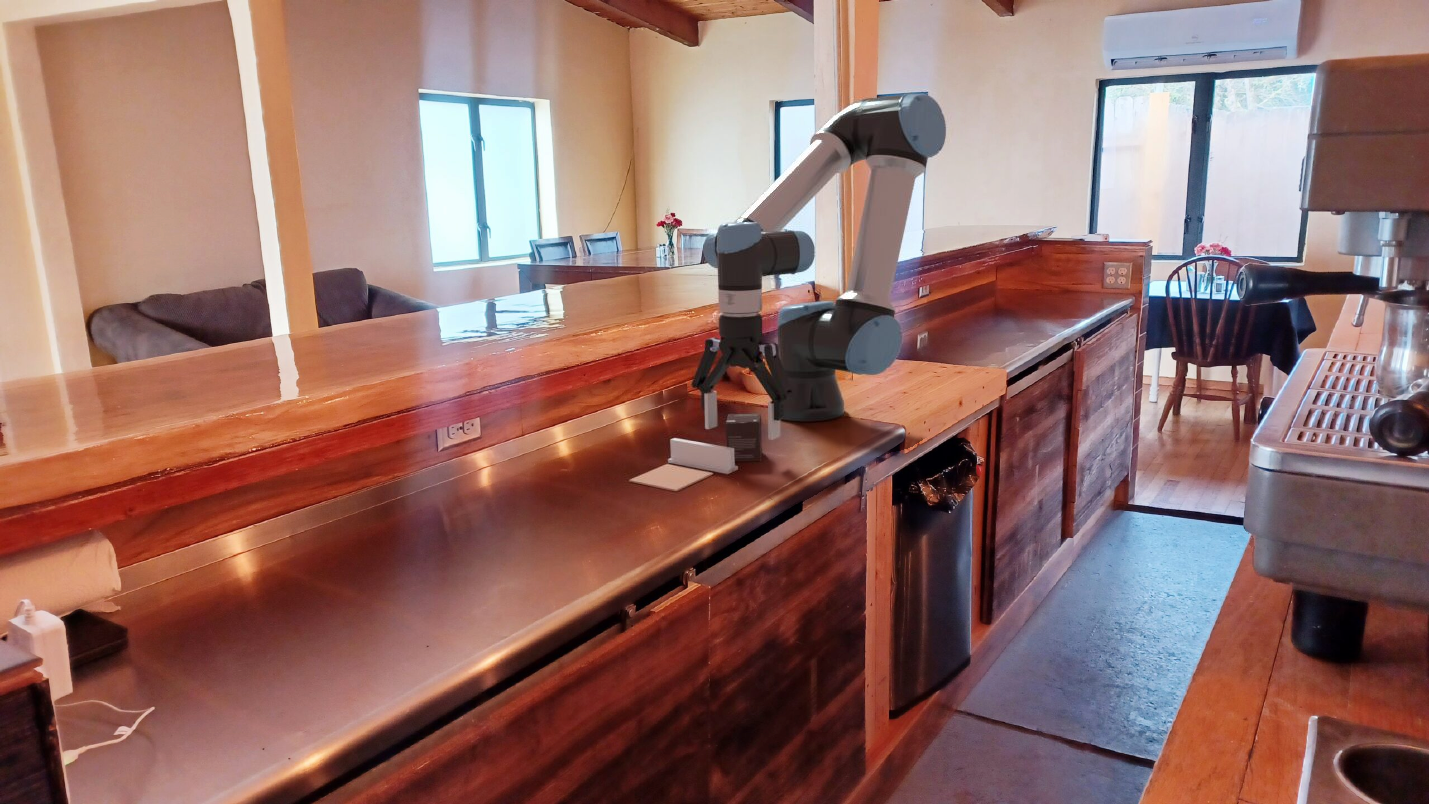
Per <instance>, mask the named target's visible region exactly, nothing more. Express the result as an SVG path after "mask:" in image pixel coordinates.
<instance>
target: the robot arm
mask: <svg viewBox="0 0 1429 804" xmlns="http://www.w3.org/2000/svg"><path fill="white" fill-rule="evenodd" d="M946 125H947V124H946V119H945V115H944V113H943V110H942V107H941V106H940V104H939V103H938V102H937V100H936V99H935V98H933V97H932V96H930V95H928V94H926V93H910V92H909V93H907V92H906V93H904V94H899V95H891V96H890V95H889V96H880V97H869V98H864V99H863V98H862V99H861V100H858V101H855V102H853V103H851V104H849V105H848V106H846V107H844V108H843V109H842V110H840V111H839V112H838V113H836V114H835V115H834V116H833V117H831V118H829V119H828V121H827V122H825V123H824V124H823V125H822V126H821V127H820V128H818V130H816V132H815V133H814V134H813V135H812V136H811V138H810V140H809V141H810V142H809V145H808V147H807V148H806V150H804V151H803V152H802V154H800V155H799V156H798V157H797V158H796V159H795V160H794V161H793V162H792V164H791V165H789V167H788V168H787V169H785V170H784V172H782V173H781V174H780V175H779V177H778V178H776V179H775V181H774V182H772V183H771V184H770V186H768V188H767V189H766V190H765V191H764V192H763V193H762V194H760V195H759V197H758V198H756V200H755V201H754V202H753V203H751V205H750V206H749V207H748V208H747V209H746V210H745V211H744V212H743V213H742V214H741V215H740V216H739V217H738V218H737V219H736V220H735V221H734V222H723V223H722V224H720V225H719V226H718V228H717V229H715V230H712V231H710V232H709V234H708V235H707V236H706V238H705V239H704V242H703V246H702V248H703V249H702V250H703V251H702V252H703V256H704V259H705V261H706V262H707V263H708V265H709V266H710V267H712V268H713V269H716V270H717V283H718V284H717V290H718V293H717V294H718V295H717V296H718V297H717V298H718V312H720V313H721V314H720V315H719V316H718V335H719V336H720V339H719V338H718V337H710V338H707V339H705V342H704V352H703V354H702V357H701V359H700V361H699V364H698V367H697V370H696V371H695V374H694V377H693V379H692V381H691V387H692V388H693V389H698V391H699V392H700V394H701V396H700V397H701V408H702V410H704V428H705V429H706V430H710V429H713V428H716V427H718V397H717V396H718V394H717V391H716V388H715V387H716V385H717V384H718V383H719V381H720V380H721V378H722V377H723V376H724V375H725V373H726V372H727V370H728V369H729V368H730V367H731V368H732V367H733V368H736V367H739V368H741V369H747V368H748V370H749V371H750V372H752V373H753V375H754V376H755V377H756V379H757V380H758V382H759V383H760V384H761V387H762V388H764V390H765V392H766V394H767V395H768V397H769V398H770V401H768V402H767V424H768V425H767V429H768V430H767V431H768V433H767V435H768V437H767V438H768V440H771V441H773V440H775V439H778V438H780V437H781V421H782V420H784V421H790V422H791V421H792V422H803V423H804V422H805V423H806V422H823V421H827V420H829V421H830V420H833V419H834V420H835V419H836V418H839V417H841V416H843V415H844V414H845V401H844V398H843V395H842V392H841V388H840V386H839V383H838V380H837V375H836V371H842V372H847V373H851V374H854V375H857V376H861V375H866V376H867V375H868V376H877V375H880V374H882V373H884V372H885V371H886V370H887V369H888V368H890V367H891V366H892V365H893V363H895V361H896V359H897V358H898V356H899V354H900V351H901V349H902V344H903V333H902V332H901V330H902V327H901V326H902V325H901V324H900V322H899V321H898V320H897V319H896V318H895V315H896V308H895V307H894V306H893V303H892V302H891V295H892V292H893V291H892V290H893V286H894V282H895V277H896V273H897V268H898V267H897V266H898V262H899V258H900V252H901V250H902V249H901V248H902V243H903V239H904V233H905V229H906V225H907V220H908V215H909V210H910V206H911V200H912V196H913V191H914V187H915V184H916V183H915V181H916V179H917V178H919V176H921V175H922V174H924V173H925V172H926V170H927V169H926V168H927V163H928V160H929V158H933V157H934V156H937V155H938V154H939V153H940V151H942V150H943V147H944V145H945V142H946V138H947V136H946V135H947V127H946ZM861 161H865V163H866V164H867V166H868V168H869V169H870V176H869V180H868V185H867V189H866V195H865V200H864V204H863V209H862V212H861V213H862V214H861V218H860V223H859V228H858V232H857V238H856V242H855V247H854V250H853V251H854V252H853V257H852V261H851V266H850V270H849V271H850V272H849V276H848V281H847V286H846V290H845V291H844V293H842V294H841V295H840V296H838V297H837V298H836V300H835V302H834V301H833V300H825V301H823V300H822V301H813V302H803V303H796V304H790V305H785V306H783V307H781V308H780V310H779V312H778V319H777V320H778V321H777V324H776V325H777V343H776V342H772V343H769V344H763V343H762V335H763V316H762V314H760V312H762V310H763V277H768V276H779V275H795V274H798V273H803V272H805V271H807V270H809V269H810V268H811V267H812V265H813V263H814V261H815V256H816V255H815V254H816V251H815V250H816V247H815V243H814V241H813V238H811V236H810V235H809V234H808V233H806V232H805V231H802V230H794V229H793V230H791V229H790V230H786V231H785V230H784V231H783V229H784V228H785V227H786V226H787V225H788V224H789V223H790V222H791V221H793V220H794V219H795V217H796V216H797V215H798V214H799V213H800V212H801V211H802V209H804V208H805V206H807V204H809V203H810V201H811V200H812V199H813V198H815V196H816V195H817V194H818V193H819V192H820V191H821V190H822V189H823V188H824V187H825V186H826V185H827V184H828V183H829V181H831V179H833V178H834V176H835V175H837V174H842V173H844V172H846V171H848V170H849V168H850V167H851V166H852V165H854V164H855V163H856V164H857V162H861ZM719 351H720V352H721V354H722V355H721V356H720V357H719V359H717V360H718V361H717V363H716V365H715V366H714V368H713V369H712V367H713V365H714V362H715V360H716V358H717V355H718V352H719ZM761 354H762V356H763V357H764V359H765V360H764V359H763V358H762V356H761ZM766 365H767V366H766ZM767 367H768V368H767ZM711 369H712V370H711Z"/></svg>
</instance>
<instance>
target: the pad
mask: <svg viewBox="0 0 1429 804" xmlns="http://www.w3.org/2000/svg"><path fill="white" fill-rule="evenodd" d="M713 475H714V472H712V471H711V472H710V471H707V470H702V469H695V468H691V467H686V466H681V465H676V464H674V465H673V464H671V463H666V464H664V465H662V466H659V467H657V468H654V469H651V470H649V471H647V472H644V473H642V474H640V475H638V476H635V477H633V478H631V479H629V480H628V481H629V483H634V484H639V485H644V486H649V487H654V488H657V489H663V490H667V491H673V492H679V491H680V490H683V489H685V488H687V487H689V486H691V485H693V484H695V483H698V482H700V481H702V480H704V479H706V478H709V477H711V476H713Z"/></svg>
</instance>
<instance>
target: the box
mask: <svg viewBox="0 0 1429 804" xmlns="http://www.w3.org/2000/svg"><path fill="white" fill-rule="evenodd" d="M761 414H762V413H728V415H727V419H726V421H725V438H726V439H725V440H726V447H730V448H734V459H735V462H761V461H762V454H763V442H762V441H763V440H762V438H763V437H762V436H763V435H762V415H761Z"/></svg>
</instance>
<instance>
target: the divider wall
mask: <svg viewBox="0 0 1429 804" xmlns="http://www.w3.org/2000/svg"><path fill="white" fill-rule="evenodd" d="M669 443H670V444H669V445H670V458H668V459H667V464H672V465H673V464H674V465H677V466H682V467H688V468H693V469H695V468H696V469H698V470H703V471H708V472H710V471H711V472H716V473H721V474H724V475H725V474H726V475H728V474H730V473H733V472H735V471H737V470H738V469H739V466H738V465H736V463H735V462H736V461H735V459H734V448H730V447H727V446H723V445H716V444H711V443H705V442H702V441H701V442H699V441H694V440H689V439H682V438H678V437H674V438H671V439H670V441H669Z"/></svg>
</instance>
